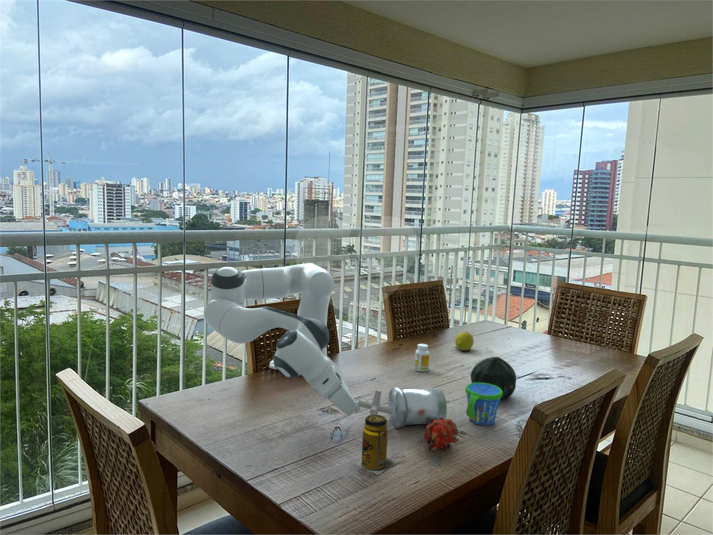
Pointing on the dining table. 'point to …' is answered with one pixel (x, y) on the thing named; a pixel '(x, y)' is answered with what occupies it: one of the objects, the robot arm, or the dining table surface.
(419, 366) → the supplement bottle
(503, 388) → the squash
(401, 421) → the white flanged cylinder
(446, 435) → the dragon fruit
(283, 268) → the robot arm
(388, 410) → the pipe connector
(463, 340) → the lemon
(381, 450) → the condiment
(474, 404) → the snack cup
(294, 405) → the dining table surface
